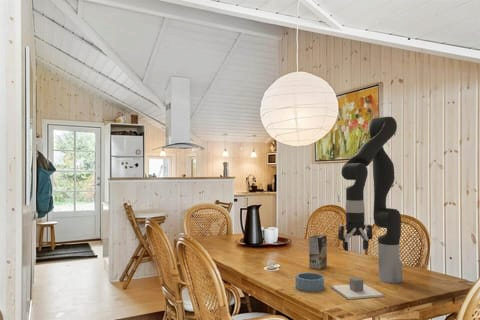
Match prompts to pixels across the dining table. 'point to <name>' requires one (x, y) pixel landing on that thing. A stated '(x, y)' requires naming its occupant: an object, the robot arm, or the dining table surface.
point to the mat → (353, 299)
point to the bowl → (310, 281)
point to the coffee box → (317, 251)
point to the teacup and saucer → (272, 266)
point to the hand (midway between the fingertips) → (355, 250)
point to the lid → (357, 290)
